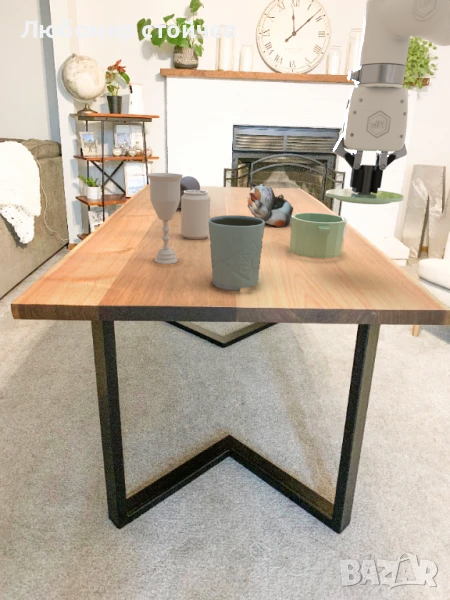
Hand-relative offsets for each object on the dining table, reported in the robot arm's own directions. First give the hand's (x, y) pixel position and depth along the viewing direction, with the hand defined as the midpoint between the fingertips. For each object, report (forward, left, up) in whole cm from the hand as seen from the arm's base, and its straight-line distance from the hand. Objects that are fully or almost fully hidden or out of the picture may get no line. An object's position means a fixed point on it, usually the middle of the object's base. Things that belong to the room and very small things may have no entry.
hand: (364, 191), depth 80 cm
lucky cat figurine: (+13, -54, -18) cm, 58 cm away
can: (+34, -32, -18) cm, 50 cm away
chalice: (+38, -9, -18) cm, 43 cm away
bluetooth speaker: (+43, -79, -18) cm, 92 cm away
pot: (+4, -21, -17) cm, 28 cm away
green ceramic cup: (+23, +4, -18) cm, 29 cm away
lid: (0, 0, -1) cm, 1 cm away
